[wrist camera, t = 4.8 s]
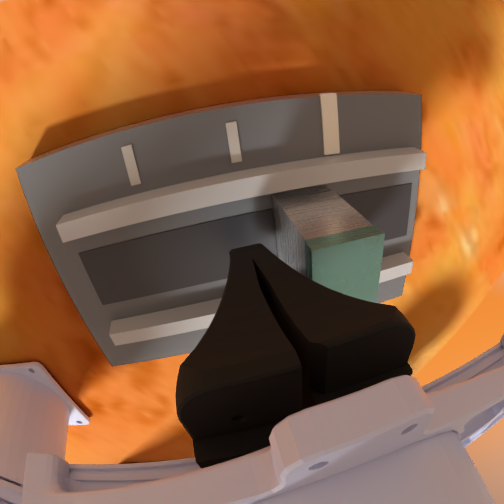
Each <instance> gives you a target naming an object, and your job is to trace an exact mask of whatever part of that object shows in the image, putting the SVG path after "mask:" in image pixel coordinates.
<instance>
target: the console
mask: <svg viewBox="0 0 504 504" xmlns="http://www.w3.org/2000/svg"><path fill="white" fill-rule="evenodd" d="M421 130H422V95H420V94H415V93H410V92H405V91H341V92H322V93H308V94H296V95H286V96H276V97H268V98H260V99H253V100H246V101H239V102H232V103H226V104H220V105H215V106H209V107H204V108H199V109H194V110H189V111H184V112H180V113H175V114H171V115H166V116H162V117H158V118H154V119H150V120H146V121H142V122H138V123H135V124H131V125H127V126H124V127H120V128H117V129H114V130H110V131H107V132H104V133H100V134H97V135H94V136H91V137H88V138H85V139H82V140H79V141H76V142H73V143H71V144H68V145H65V146H62V147H60V148H57V149H54V150H52V151H49V152H46V153H44V154H41V155H39V156H36V157H34V158H31V159H29V160H28V161H26V162H25V163H23V164H22V165H21V166H19V167H18V168H16V171H17V174H18V177H19V180H20V183H21V186H22V189H23V192H24V195H25V197H26V200H27V203H28V205H29V208H30V211H31V213H32V216H33V218H34V221H35V223H36V226H37V228H38V230H39V233H40V235H41V237H42V240H43V242H44V244H45V246H46V249H47V251H48V253H49V255H50V257H51V259H52V262H53V264H54V266H55V268H56V270H57V272H58V274H59V276H60V278H61V280H62V282H63V284H64V286H65V288H66V290H67V292H68V293H69V295H70V297H71V299H72V301H73V303H74V305H75V306H76V308H77V310H78V312H79V313H80V315H81V317H82V319H83V320H84V322H85V324H86V326H87V327H88V329H89V331H90V332H91V334H92V336H93V337H94V339H95V340H96V342H97V344H98V345H99V347H100V348H101V350H102V351H103V353H104V355H105V356H106V358H107V359H108V361H109V362H110V364H111V365H112V366H118V365H124V364H131V363H137V362H143V361H149V360H154V359H160V358H166V357H171V356H176V355H181V354H186V353H191V352H192V351H193V350H194V349H195V347H196V346H197V344H198V343H199V341H200V340H201V338H202V337H203V335H204V334H205V332H206V331H207V329H208V327H209V326H210V324H211V322H212V320H213V318H214V316H215V314H216V312H217V309H218V307H219V304H220V302H221V299H222V296H223V293H224V289H225V286H226V282H227V278H228V272H229V266H230V255H229V252H230V251H231V249H235V248H240V247H244V246H249V245H253V244H258V243H261V244H263V245H264V246H265V247H266V248H267V249H269V250H270V251H271V252H272V253H273V254H274V255H276V256H277V257H278V249H277V239H276V229H275V220H274V210H273V201H272V194H276V193H281V192H287V191H292V190H297V189H303V188H309V187H314V186H320V185H327V186H328V187H329V188H330V189H332V190H333V191H334V192H335V193H336V194H338V195H339V196H340V197H341V198H342V199H343V200H345V201H346V202H347V203H348V204H349V205H350V206H352V207H353V208H354V209H355V210H356V211H357V212H359V213H360V214H361V215H362V216H363V217H364V218H365V219H366V220H368V221H369V222H370V223H371V224H372V225H376V226H377V227H379V228H380V229H381V230H382V231H383V232H384V233H385V237H384V246H383V255H382V264H381V272H380V279H379V286H378V293H377V299H376V303H381V302H384V301H387V300H390V299H393V298H396V297H398V296H401V295H402V292H403V287H404V282H405V277H406V275H407V274H410V273H411V271H412V266H413V260H412V259H411V258H410V257H409V255H410V249H411V242H412V236H413V228H414V221H415V213H416V204H417V195H418V184H419V171H420V170H421V169H425V167H426V152H424V151H422V150H421Z"/></svg>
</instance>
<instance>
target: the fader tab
mask: <svg viewBox="0 0 504 504" xmlns="http://www.w3.org/2000/svg"><path fill="white" fill-rule="evenodd" d="M272 201H273V210H274V220H275V229H276V239H277V249H278V258H279V259H281V260H282V261H283V262H285V263H286V264H287V265H289V266H290V267H292V268H293V269H295V270H296V271H297V272H299V273H301V274H302V275H304V276H305V277H307V278H309V279H311V280H313V281H315V282H317V283H319V284H321V285H323V286H325V287H327V288H330V289H332V290H334V291H337V292H340V293H342V294H345V295H348V296H351V297H354V298H358V299H362V300H365V301H369V302H374V303H376V299H377V293H378V286H379V279H380V272H381V264H382V255H383V246H384V237H385V233H384V232H383V231H382V230H381V229H380V228H379V227H377V226H376V225H372V224H371V223H370V222H369V221H368V220H366V219H365V218H364V217H363V216H362V215H361V214H360V213H359V212H357V211H356V210H355V209H354V208H353V207H352V206H350V205H349V204H348V203H347V202H346V201H345V200H343V199H342V198H341V197H340V196H339V195H338V194H336V193H335V192H334V191H333V190H332V189H330V188H329V187H328V186H327V185H320V186H314V187H309V188H303V189H297V190H292V191H287V192H281V193H276V194H272Z"/></svg>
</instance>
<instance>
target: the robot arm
mask: <svg viewBox="0 0 504 504" xmlns="http://www.w3.org/2000/svg"><path fill="white" fill-rule="evenodd" d="M229 255H230V266H229V272H228V278H227V282H226V286H225V289H224V293H223V296H222V299H221V302H220V304H219V307H218V309H217V312H216V314H215V316H214V318H213V320H212V322H211V324H210V326H209V327H208V329H207V331H206V332H205V334H204V335H203V337H202V338H201V340H200V341H199V343H198V344H197V346H196V347H195V349H194V350H193V351H192V352H191V353H190V355H189V356H188V357H187V358H186V359H185V361H184V362H183V363H182V364H181V365H180V369H179V373H178V379H177V386H176V408H177V415H178V418H179V420H180V422H181V423H182V425H183V426H184V428H185V429H186V430H187V432H188V433H189V435H190V436H191V437H192V439H193V446H194V453H195V457H192V458H185V459H177V460H168V461H158V462H147V463H132V464H103V465H86V464H68V462H66V461H65V451H66V441H67V432H68V425H87V424H90V418H89V417H88V416H87V415H86V414H85V413H84V412H83V411H82V410H81V409H80V408H79V407H78V406H77V405H76V404H75V403H74V401H73V400H72V399H71V398H70V397H69V396H68V395H67V394H66V393H65V391H64V390H63V389H62V388H61V387H60V386H59V385H58V383H57V382H56V381H55V380H54V379H53V377H52V376H51V375H50V374H49V373H48V371H47V370H46V369H45V368H44V366H43V365H42V364H40V363H39V362H28V363H19V364H8V365H0V504H495V502H494V500H493V498H492V496H491V494H490V492H489V490H488V488H487V486H486V485H485V483H484V481H483V479H482V477H481V475H480V474H479V472H478V470H477V468H476V467H475V465H474V463H473V461H472V460H471V458H470V456H469V454H468V453H467V451H466V449H465V447H466V446H467V445H469V444H470V443H471V442H473V441H474V440H475V439H477V438H478V437H479V436H481V435H482V434H483V433H485V432H486V431H487V430H488V429H490V428H491V427H492V426H493V425H495V424H496V423H497V422H498V421H499V420H500V419H502V418H503V417H504V334H503V336H502V338H501V340H500V343H498V344H497V345H495V346H494V347H492V348H491V349H489V350H487V351H486V352H484V353H483V354H481V355H479V356H478V357H476V358H474V359H473V360H471V361H470V362H468V363H466V364H464V365H462V366H461V367H459V368H457V369H456V370H454V371H452V372H450V373H448V374H446V375H444V376H443V377H441V378H439V379H437V380H435V381H433V382H431V383H429V384H427V385H425V386H423V387H421V386H420V384H419V382H418V381H417V379H416V378H414V377H412V376H411V374H412V368H411V367H410V365H409V364H408V362H407V361H408V358H409V356H410V353H411V350H412V347H413V344H414V340H415V330H414V328H413V327H412V326H411V324H410V323H409V322H408V320H407V319H406V318H405V316H404V315H403V314H402V313H401V312H400V311H399V310H398V309H397V308H396V307H395V306H391V305H385V304H380V303H374V302H369V301H365V300H362V299H358V298H354V297H351V296H348V295H345V294H342V293H340V292H337V291H334V290H332V289H330V288H327V287H325V286H323V285H321V284H319V283H317V282H315V281H313V280H311V279H309V278H307V277H305V276H304V275H302V274H301V273H299V272H297V271H296V270H295V269H293V268H292V267H290V266H289V265H287V264H286V263H285V262H283V261H282V260H281V259H279V258H278V257H277V256H276V255H274V254H273V253H272V252H271V251H270V250H269V249H267V248H266V247H265V246H264V245H263V244H261V243H258V244H253V245H249V246H244V247H240V248H235V249H231V251H230V252H229Z"/></svg>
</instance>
